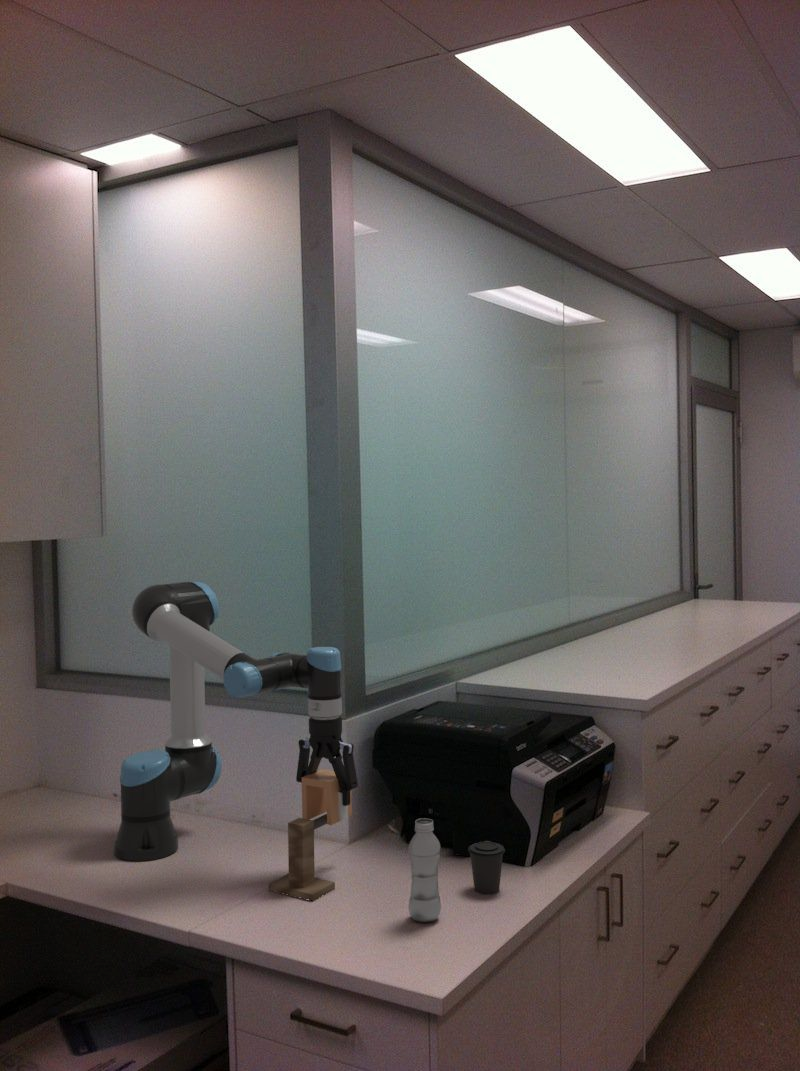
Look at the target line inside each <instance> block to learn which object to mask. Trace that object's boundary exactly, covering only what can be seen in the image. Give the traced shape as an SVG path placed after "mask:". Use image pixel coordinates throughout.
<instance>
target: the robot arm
mask: <svg viewBox="0 0 800 1071" xmlns="http://www.w3.org/2000/svg"><path fill="white" fill-rule="evenodd" d="M131 608H132V609H131V610H132V611H131V613H132V618H133V621H134V624H135V625H136V627H137V629H138V630H139V631H141V633H142V634H144V635H145V636H147V637H149V638H150V639H152V640H153V641H156V642H161V641H163V642H164V643H165V644H167V645H168V646H169V650H168V651H169V683H170V684H169V685H170V686H169V688H170V689H169V691H170V693H169V694H170V695H169V697H170V698H169V699H170V701H169V702H170V737H169V738H168V739H167V740H166V741H165V742H164V745H165V748H164V749H165V750H163V749H150V750H147V751H146V750H143V751H140V752H136V753H134V754H132V755H129V756H128V757H126V758H125V759H124V760H123V761H122V763H121V766H120V776H119V782H120V816H121V821H120V825H119V828H118V832H117V836H116V839H115V842H114V848H113V849H114V850H113V851H114V852H113V853H114V855H115V857H116V858H118V859H120V860H125V861H129V862H130V861H132V862H142V861H143V862H145V861H151V860H152V861H153V860H158V859H159V860H160V859H163V858H166V857H168V856H171V855H173V854H175V853H176V852H177V851H178V850H179V837H178V835H177V833H176V830H175V826H174V823H173V821H172V817H171V802H173V801H176V800H180V799H183V798H187V797H189V796H193V795H199V794H202V793H203V792H205V791H208V790H210V789H212V788H213V787H214V786H215V785H216V784H217V783H218V781H219V780H220V778H221V774H222V768H223V763H222V757H221V755H220V754H219V750H218V749H217V747H216V746H215V745H213V744H212V742H213V741H212V739H211V738H210V737H209V736H208V735H207V733H206V694H205V692H206V690H205V689H206V688H205V687H206V686H205V669H206V670H208V671H209V672H210V673H212V674H214V675H215V676H217V677H219V678H220V679H222V681H223V686H224V688H225V689H226V691H227V693H228V694H229V696H231V697H232V698H233V697H234V698H250V697H253V696H258V695H261V694H265V693H269V692H274V691H278V690H282V689H288V688H299V689H300V688H302V689H307V699H308V716H310V717H309V718H308V734H309V738H308V737H305V738H303V739H300V740H298V748H299V753H298V762H297V767H296V768H297V771H296V778H295V780H296V782H297V783H300V784H302V777H304V776H306V775H311V774H313V773H316V772H317V771H318V769H319V766H320V764H321V761H322V759H323V758H324V759H326V760H328V762H329V763H330V764H331V767H332V769H333V770H332V771H334V772H335V775H336V778H337V779H338V783H339V786H340V789H341V790H340V791H339V792H338V819H339V822H342V821H345V820H347V819H349V817H348V805H350V790H351V791H353V790H354V789H356V788H358V786H359V783H358V778H357V770H356V765H355V760H354V750H355V746H354V743H346V742H344V741H343V739H342V733H343V717H342V716H341V715H342V714H343V706H342V705H343V703H342V702H343V701H342V662H341V660H342V659H341V652H340V650H339V649H338V648H336V647H334V646H333V647H332V646H316V647H310V648H309V649H308V650H307V652H306V655H305V654H300V653H299V654H297V653H290V652H275V653H272V654H271V655H270V656H269V657H266V658H260V659H256V658H253V657H251V656H250V655H248V654H246V653H245V652H243V651H241V650H240V649H239V648H237V647H235V646H233V645H232V644H231V643H228V641H226V640H224V639H222V638H221V637H219V636H217V635H216V634H214V633H213V632H211V631H210V629H211V628H210V626H212V625H213V624H214V623H216V621H217V618H219V613H220V606H219V600H218V597H217V595H216V594H215V591H213V590H212V588H211V587H210V585H208V584H206V583H204V582H201V581H184V582H183V581H182V582H173V583H165V584H164V583H162V584H160V583H159V584H153V585H150V586H147V587H146V588H144V589H143V590H141V592H140V591H139V593H138V594H137V596H136V597H135V599H134V601H133V603H132V607H131ZM311 748H312V751H311ZM310 753H311V754H310Z"/></svg>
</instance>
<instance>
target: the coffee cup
mask: <svg viewBox="0 0 800 1071" xmlns="http://www.w3.org/2000/svg"><path fill="white" fill-rule="evenodd" d="M468 851H469V852H470V856H469V857H470V861H471V870H472V878H473V879H472V880H473V887H474V892H475V893H477V894H479V895H483V896H484V895H485V896H488V895H490V896H492V895H496V894H497V893H499V892H500V885H501V878H502V877H501V876H502V867H503V866H502V865H503V856H504V853H505V852H506V849H505V847H504V846H503V845H502V844H500V843H497V842H493V841H490V840H484V841H479V842H478V843H474V844H472V845H470V846H469V848H468Z"/></svg>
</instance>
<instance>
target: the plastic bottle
mask: <svg viewBox="0 0 800 1071" xmlns="http://www.w3.org/2000/svg"><path fill="white" fill-rule="evenodd" d="M414 824H415V825H414V832H415V834H414V835H413V837H412V838H411V840H410V841H409V844H408V845H409V846H408V853H409V860H410V871H411V885H410V895H409V899H408V900H409V901H408V913H409V916H410V917H411V918H412V920H413V921H416V922H421V923H428V922H429V923H430V922H433V921H435V920H437V919H438V917H439V916H440V914H441V909H442V904H441V897H440V892H439V891H440V889H439V879H438V878H439V863H440V856H441V843H440V840H439V839H438V838H437V836H436V835H435V833H434V831H435V827H434V820H433V819H430V818H425V817H424V818H418V819H416V820H415V821H414Z"/></svg>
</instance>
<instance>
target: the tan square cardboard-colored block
mask: <svg viewBox="0 0 800 1071" xmlns="http://www.w3.org/2000/svg"><path fill="white" fill-rule="evenodd" d="M340 790H341V789H340V786H339V783H338V779H337V778H336V775H335V772H334V770H329V769H322V768H321V769H320V770H317V772H316V773H313V774H311V775H306V776H304V777H302V783H301V808H302V811H301V814H302V815H301V816H302V817H301V818H303V819H308V820H313V819H314V818H316V817H318V816H321V815H322V814H323V815H324V813H325V814H327V824H326V825H330V826H333V825H335V824H337V823H340V821H339V819H338V792H339V791H340ZM352 791H353V790H350V805H348V818H350V817H352V816H353V805H352V804H353V803H352V801H353V800H352V796H353V795H352V793H353V792H352Z"/></svg>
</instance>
